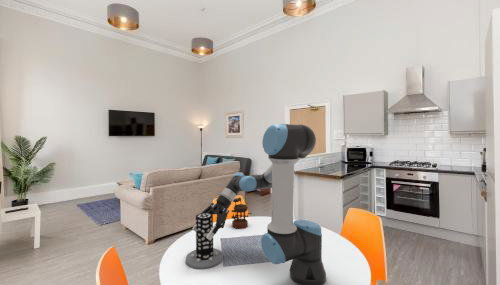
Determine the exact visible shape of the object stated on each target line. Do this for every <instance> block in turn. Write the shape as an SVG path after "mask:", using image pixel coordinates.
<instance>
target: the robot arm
mask: <svg viewBox="0 0 500 285" xmlns="http://www.w3.org/2000/svg"><path fill="white" fill-rule="evenodd" d="M261 144H262V148H263V152H265V154H267V155H268V159H269V161H270V162H271V165H270V166H269V167H268V168H267V169H266V170H265V171H264V172H263V173H262V174H256V175H254V174H253V175H245V174H243V173H241V172H239V171H238V172H235V174H233V176H232V177H231V179H230V180H229V182H228V183H227V185H225V188H223V190H222V191H221V193H220V195H219V196H218V197H217V198H216V203H214V202H212V203H210V205H209V206H207V207H206V208H205V209H204V210H203V211H201V212H200V213H199V214H201V213H210V214H213V215H216V220H215V224H213V228H212V229H211V231H210V232H209V234H208V235H207V236H206V238H207V239H209V240H210V241H211V239H212V238H213V239H214V236H215V235H216V234H217V233H218V231H219V230H220V229H224V227H225V225H226V221H227V218H228V214H229V213H230V210H229V207H230V206H231V205H232V203H234V202H233V200H234V199H235V198H237V196H238V194H239V193H240V192H248V193H249V192H251V191H258V190H265V189H271V212H270V214H271V217H270V218H271V220H270V222H269V223H268V224H267V228H266V229H267V231H266V232H267V233H266V232H265V233H263V234H262V235H261V237H260V238H261V239H260V243H261V244H260V245H261V249H262V251H263V253H264V256H265V257H266V258H267V260H268V261H269V262H270V263H271V264H274V265H280V264H285V263H286V262H289V261H291V264H290V267H289V277H290V279H291V280H292V281H293V282H294V283H296V284H298V285H324V284H325V283H326V280H327V273H326V270H325V267H324V263H323V259H322V254H323V253H322V251H323V250H322V247H323V246H322V241H323V238H322V237H323V233H322V227H321V226H320V224H318V223H316V222H314V221H312V220H311V221H310V220H306V219H297V220H294V199H295V198H294V196H295V195H294V190H295V189H294V188H295V185H294V184H295V164H297V163H298V162H299V161H300V160H301V159H302V160H303V159H306V157H307V156H308V155H310V154H311V153H312V152H313V150H314V149H315V146H316V144H317V138H316V134H315V132H314V130H313V129H312V128H311V127H309V126H307V125H304V124H289V123H276V124H272V125H270V126H268V128H266V130H265V131H264V134H263V136H262V143H261ZM192 230H193V231H194V232H195V233H196V224H195V225H193V227H192Z"/></svg>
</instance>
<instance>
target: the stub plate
mask: <svg viewBox="0 0 500 285" xmlns="http://www.w3.org/2000/svg"><path fill="white" fill-rule="evenodd" d="M223 260H224V253H223V251H221V250H220V249H219V248H214V247H213V257H210V258H209V259H208V260H200V259H197V258H196V249H194V250H193V251H190V252H189V253H187V255H186V256H185V265H187V266H188V267H189V268H191V269H195V270H207V269H211V268H214V267H216V266H218V265H219V264H221V263H222V262H223Z"/></svg>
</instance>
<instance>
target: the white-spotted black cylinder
mask: <svg viewBox="0 0 500 285" xmlns="http://www.w3.org/2000/svg"><path fill="white" fill-rule="evenodd" d="M200 213H201V214H200ZM200 213H198V214H196V215H195V225H196V232H195V250H196V258H197V259H200V260H208V259H209V258H210V257H213V248H214V237H213V238H212V239H211V241H210V240H209V239H207V238H206V236H207V235H208V234H209V232H210V231H211V229H212V228H213V226H214V214H210V213H202V212H200Z"/></svg>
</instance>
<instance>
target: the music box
mask: <svg viewBox="0 0 500 285" xmlns="http://www.w3.org/2000/svg"><path fill="white" fill-rule="evenodd" d="M239 202H240V203H239ZM232 203H234V205H233V209H231V213H232V215H231V219H232V221H231V222H232V223H231V224H232V228H233V229H235V230H244V229H246V228H248V227H249V222H248V220H247V219H246V218H249V215H253V213H251V212H247V211H248V209H249V208H248V205H246V204H243V203H242V198H241V197H235V199H234V200H233V202H232ZM238 203H239V204H238ZM246 212H247V215H246ZM234 213H235V214H234ZM242 213H243V214H242Z"/></svg>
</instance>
